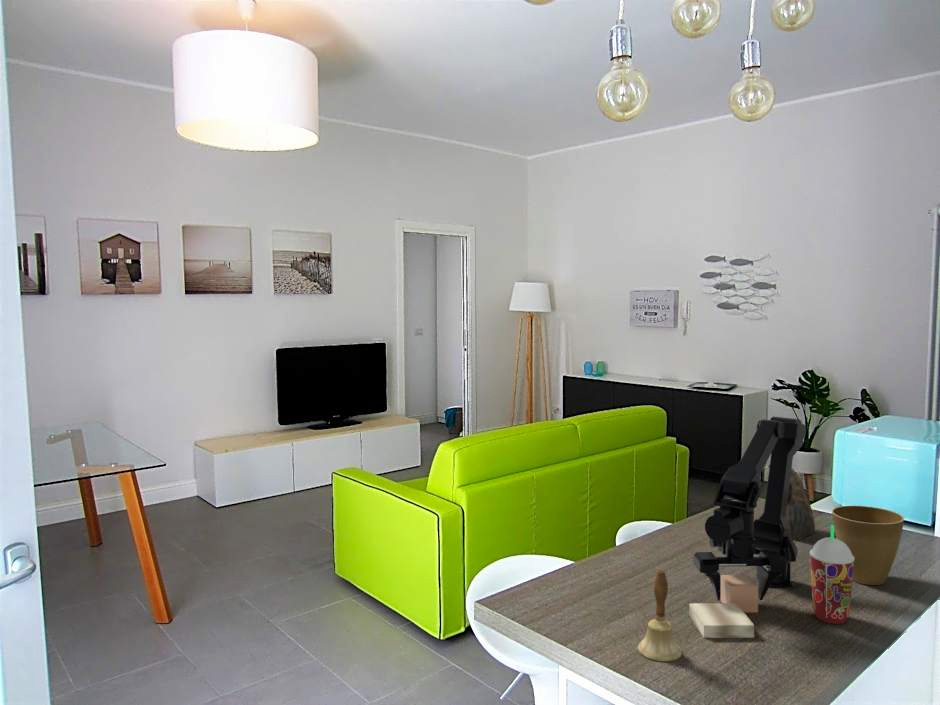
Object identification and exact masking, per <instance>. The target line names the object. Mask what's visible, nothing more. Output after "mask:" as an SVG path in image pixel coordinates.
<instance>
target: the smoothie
mask: <svg viewBox="0 0 940 705" xmlns="http://www.w3.org/2000/svg"><path fill="white" fill-rule="evenodd" d="M854 559H855V557H854V556H853V555H852V553H851V550H850V549H849V547H848V546H847V545H846V544H845V543H844V542H843V541H841V540H839V539H837V538H836V537H835V528H834V524H831V525H830V537H823V538H821V539H819V540H817V541H816V542H815V543H814V545H813V547H812V549H810V550H809V561H810V580H811V581H810V584H811V597H812V598H811V599H812V600H811V601H812V611H813V612H814V614H815V617H816V618H817V619H818V620H820V621H822V622H824V623H827V624H832V625H833V624H834V625H841V624H844V623H845V622H847V618H849V617H850V609H851V608H850V607H851V599H852V598H851V597H852V587H853V586H852V585H853V580H852V578H853V567H854Z"/></svg>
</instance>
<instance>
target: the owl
mask: <svg viewBox="0 0 940 705" xmlns="http://www.w3.org/2000/svg"><path fill="white" fill-rule="evenodd" d="M767 467H768V468H769V467H770V463H769V464H768V466H767ZM786 519H787V521H788V524H789V526H790V528H791V538H792V540H793V541H799V540H801V539H805V537H808V536H811V535H813V534H815V533H816V530H815V529H816V523H815V518H814V514H813V509H812V506H811V504H810V500H809V498H808V495H807V492H806V489H805V486H804V484H803V480H802V478H801V477H800V476H799V475H798V474H797V472H796V471H795V469H793V467H792V468H791V476H790V484H789V492H788V501H787V509H786Z"/></svg>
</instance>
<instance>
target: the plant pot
mask: <svg viewBox="0 0 940 705" xmlns="http://www.w3.org/2000/svg"><path fill="white" fill-rule="evenodd" d="M831 514H832V515H831V517H832V521H833V525H834V535H835V538H836V539H839V540H841V541H843V542H844V543H845V544H846V545H847V546H848V547H849V549H850V550H851V553H852V555H853V556H854V557H855V559H854V567H853V578H852V582H853V581H854V582H855V583H859V584H862V585H867V586H881V585H883V584H885V583H886V580H887V578H888V576H889V574H890V572H891V570H892V567H893V565H894V562H895V559H896V556H897V553H898V549H899V546H900V542H901V539H902V538H901V537H902V533H903V527H904V522H905V518H904V516H903V515H902V514H901V513H899V512H896V511H892V510H890V509H886V508H882V507H875V506H866V505H840V506H836V507H834V508H832V509H831Z"/></svg>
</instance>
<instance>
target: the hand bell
mask: <svg viewBox="0 0 940 705" xmlns="http://www.w3.org/2000/svg"><path fill="white" fill-rule="evenodd" d="M668 588H669V584H668V580H667V576H666V571H665V570H663V569H658V570H657V572H656V576H655V578H654V583H653V592H654V597H655V601H656V602H655V603H656V606H655V618H654V619H651V620H649V622H648V623H647V630H646V634H645V636H644V638H643V639H642V640H641V641H640V642H639V643H638V645H637V650H638V652H639V654H641V656H643V657H645V658H647V659H648V660H649V659H650V660H653V661H657V662H666V663H667V662H673V661H674V662H675V661H676V660H679V659H680V658H681V657H682V656H683V651H682V648H681V647H680V646H679V644H678V643H677V641H676V640H675V636H674V633H673V626H672V625H671V623H670V622H669V621H668V620H666V619H665V616H666V613H665V611H666V610H665V604H666V603H665V602H666V599H667V596H668V591H669V590H668Z"/></svg>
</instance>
